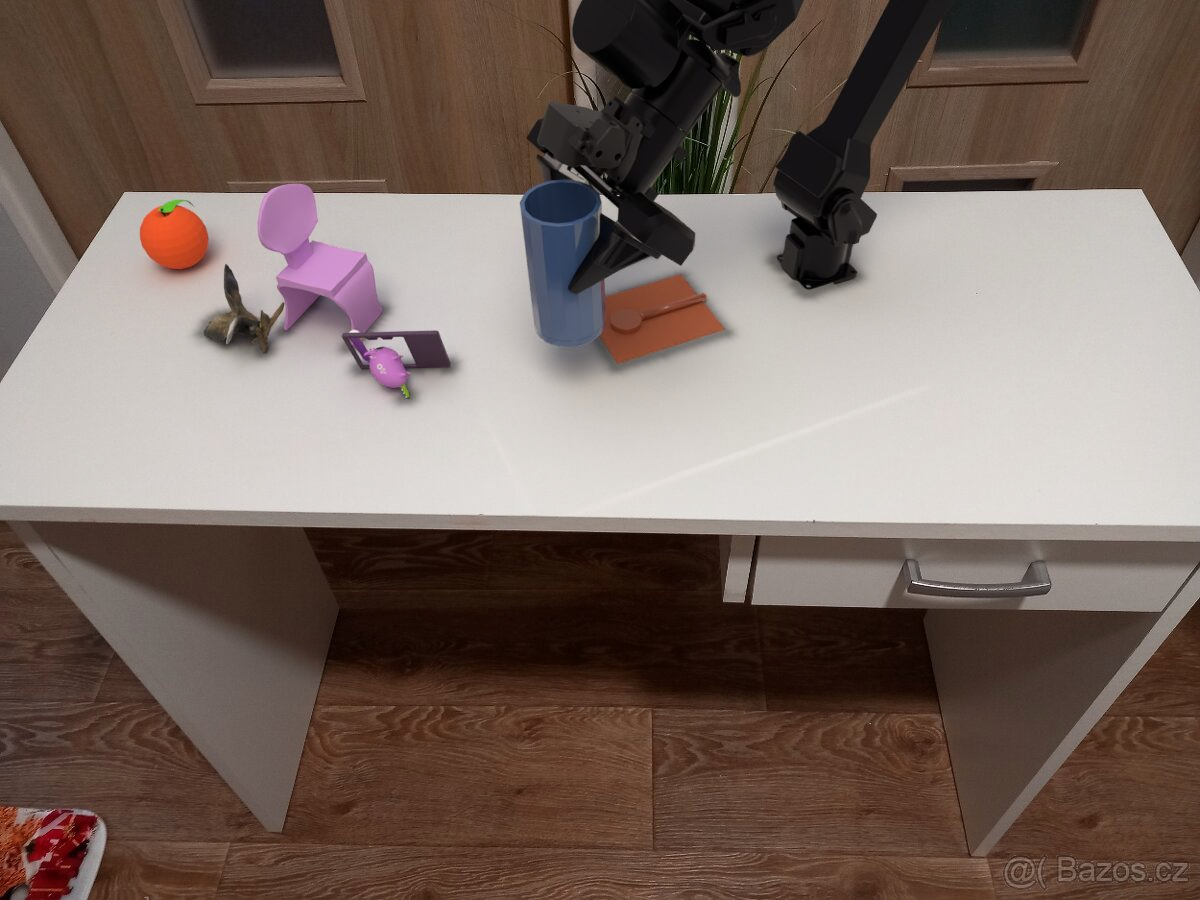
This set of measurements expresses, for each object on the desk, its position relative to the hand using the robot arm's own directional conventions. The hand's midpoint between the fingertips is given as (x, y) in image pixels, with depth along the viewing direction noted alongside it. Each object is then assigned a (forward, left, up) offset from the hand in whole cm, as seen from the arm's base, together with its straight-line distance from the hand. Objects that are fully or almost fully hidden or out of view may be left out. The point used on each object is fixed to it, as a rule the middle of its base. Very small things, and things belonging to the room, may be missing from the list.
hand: (551, 270), depth 78 cm
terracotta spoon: (-13, -4, -13) cm, 19 cm away
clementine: (+31, -36, -14) cm, 50 cm away
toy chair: (+18, -18, -14) cm, 29 cm away
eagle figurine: (+27, -20, -14) cm, 37 cm away
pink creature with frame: (+14, -6, -14) cm, 21 cm away
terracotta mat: (-12, -4, -13) cm, 18 cm away
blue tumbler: (-1, 0, -7) cm, 7 cm away
